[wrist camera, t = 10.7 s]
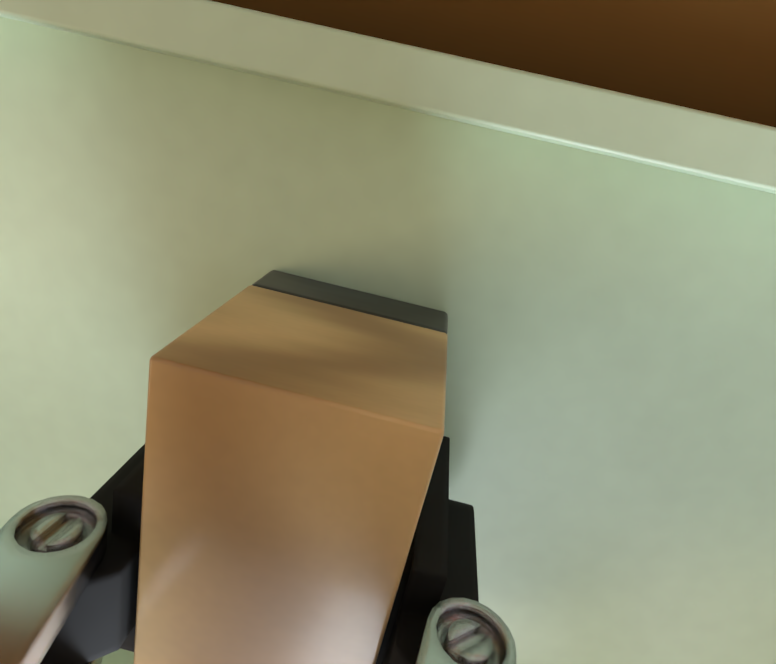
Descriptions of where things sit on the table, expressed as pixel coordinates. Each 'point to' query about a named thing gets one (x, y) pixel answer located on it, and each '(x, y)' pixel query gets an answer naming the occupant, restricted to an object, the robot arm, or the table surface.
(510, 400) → the tray
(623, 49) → the table surface
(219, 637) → the eraser
